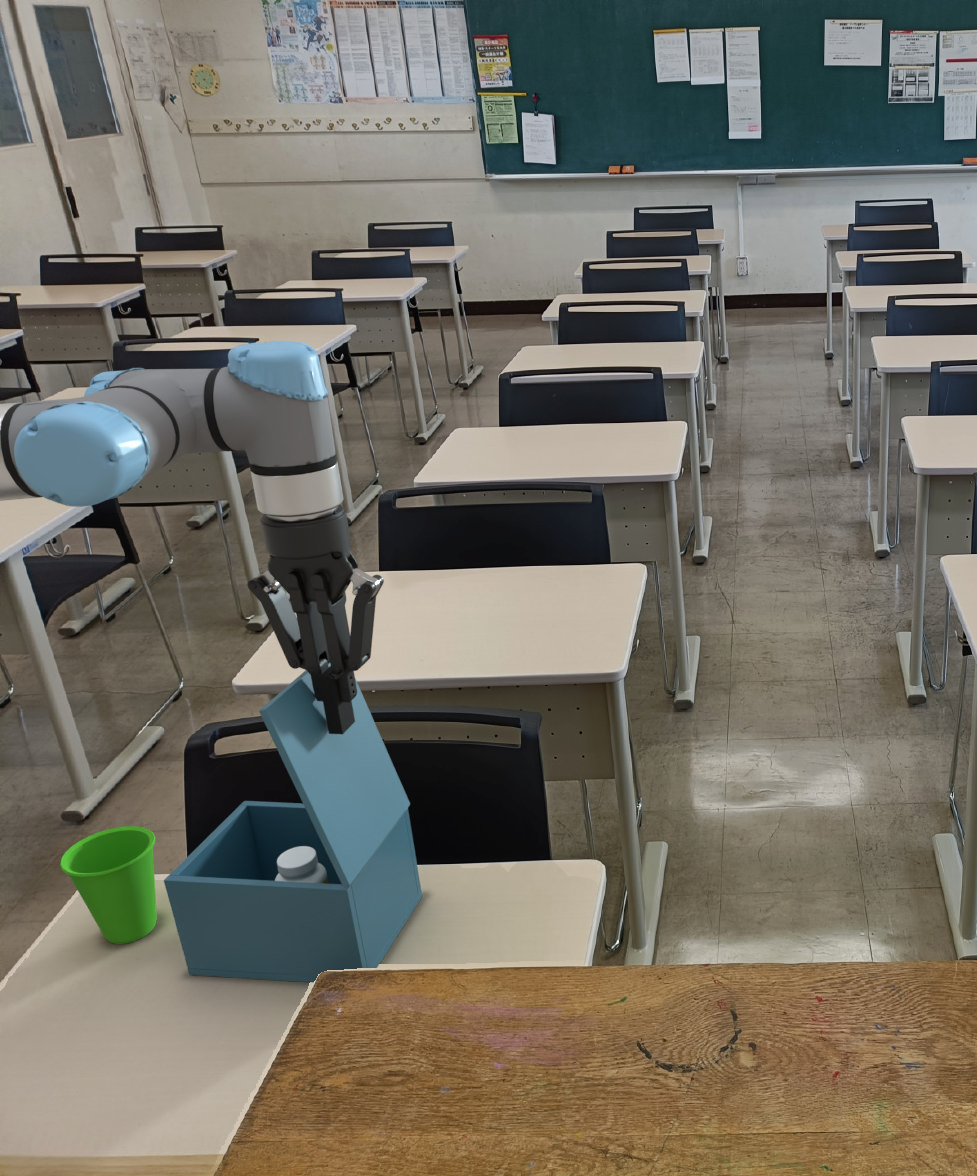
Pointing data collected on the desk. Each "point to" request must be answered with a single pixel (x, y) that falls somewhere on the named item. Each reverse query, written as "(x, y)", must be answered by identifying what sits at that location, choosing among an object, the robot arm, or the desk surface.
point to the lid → (337, 774)
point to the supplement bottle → (301, 866)
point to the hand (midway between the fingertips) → (342, 727)
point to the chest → (287, 900)
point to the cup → (116, 880)
